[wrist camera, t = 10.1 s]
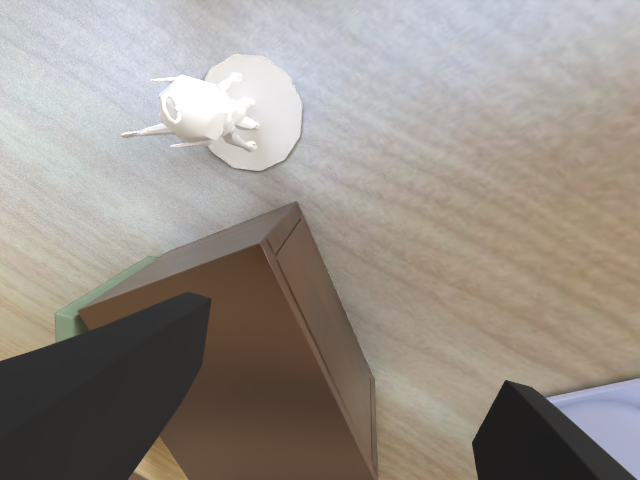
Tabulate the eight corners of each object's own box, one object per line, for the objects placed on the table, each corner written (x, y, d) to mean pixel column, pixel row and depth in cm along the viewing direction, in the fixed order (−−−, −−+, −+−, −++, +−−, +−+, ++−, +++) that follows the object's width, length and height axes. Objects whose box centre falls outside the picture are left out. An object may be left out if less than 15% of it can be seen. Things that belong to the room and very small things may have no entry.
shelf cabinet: (374, 380, 20) (379, 491, 14) (256, 409, 22) (214, 519, 16) (297, 200, 17) (260, 242, 11) (168, 251, 19) (75, 311, 13)
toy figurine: (312, 162, 17) (275, 189, 10) (163, 186, 18) (37, 225, 11) (292, 41, 15) (229, -30, 8) (130, 77, 16) (-42, 43, 9)
